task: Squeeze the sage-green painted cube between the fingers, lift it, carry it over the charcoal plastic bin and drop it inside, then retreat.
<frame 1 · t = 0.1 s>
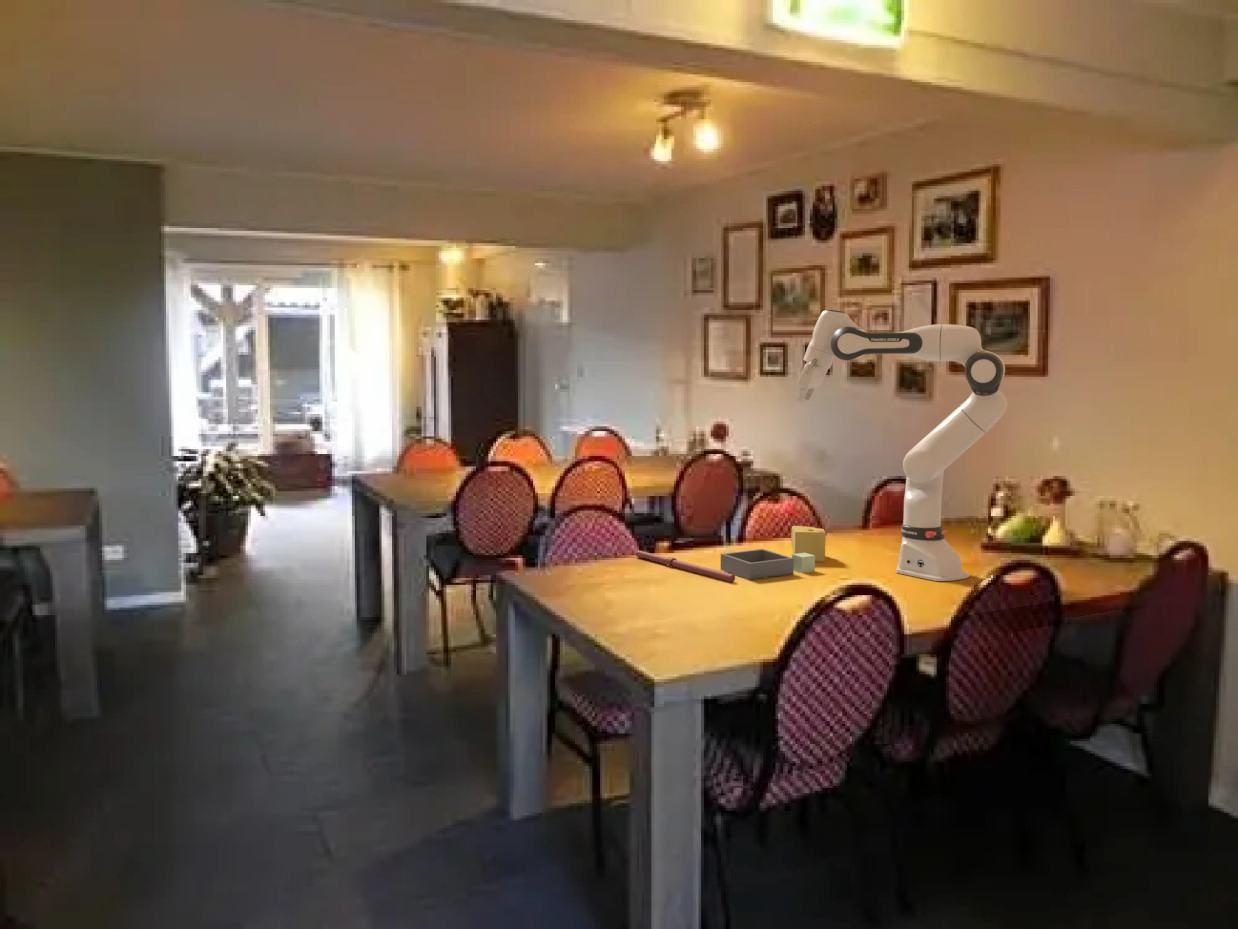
hand: (803, 400, 319), 52 cm above the table, tool tilted 20°, fingers open, 8 cm apart
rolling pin: (682, 571, 314), on the table
green cube: (803, 570, 312), on the table
bin: (756, 572, 310), on the table
cheese: (808, 559, 328), on the table
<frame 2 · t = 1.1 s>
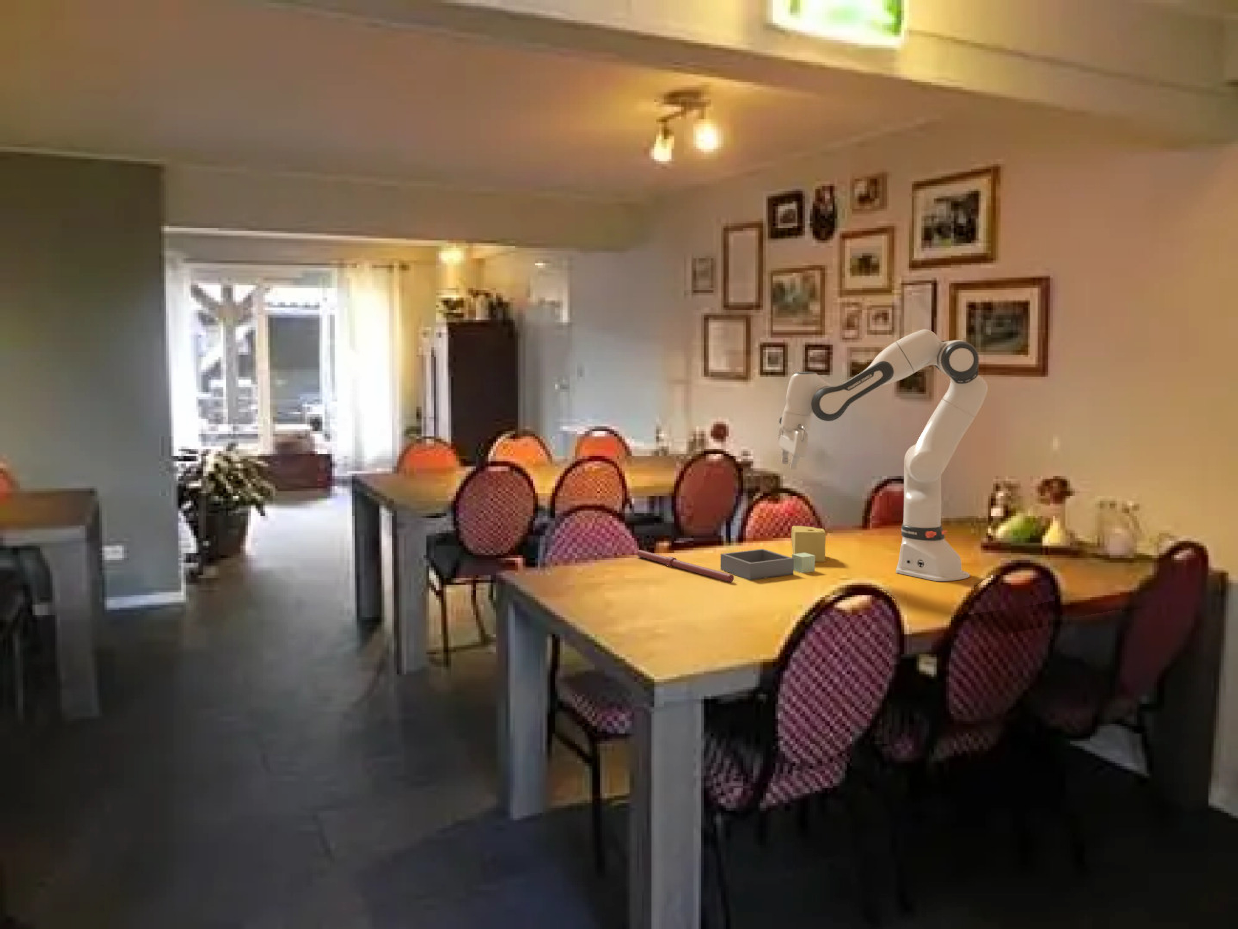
hand: (788, 466, 314), 32 cm above the table, tool pointing down, fingers open, 8 cm apart
nothing on the table moved.
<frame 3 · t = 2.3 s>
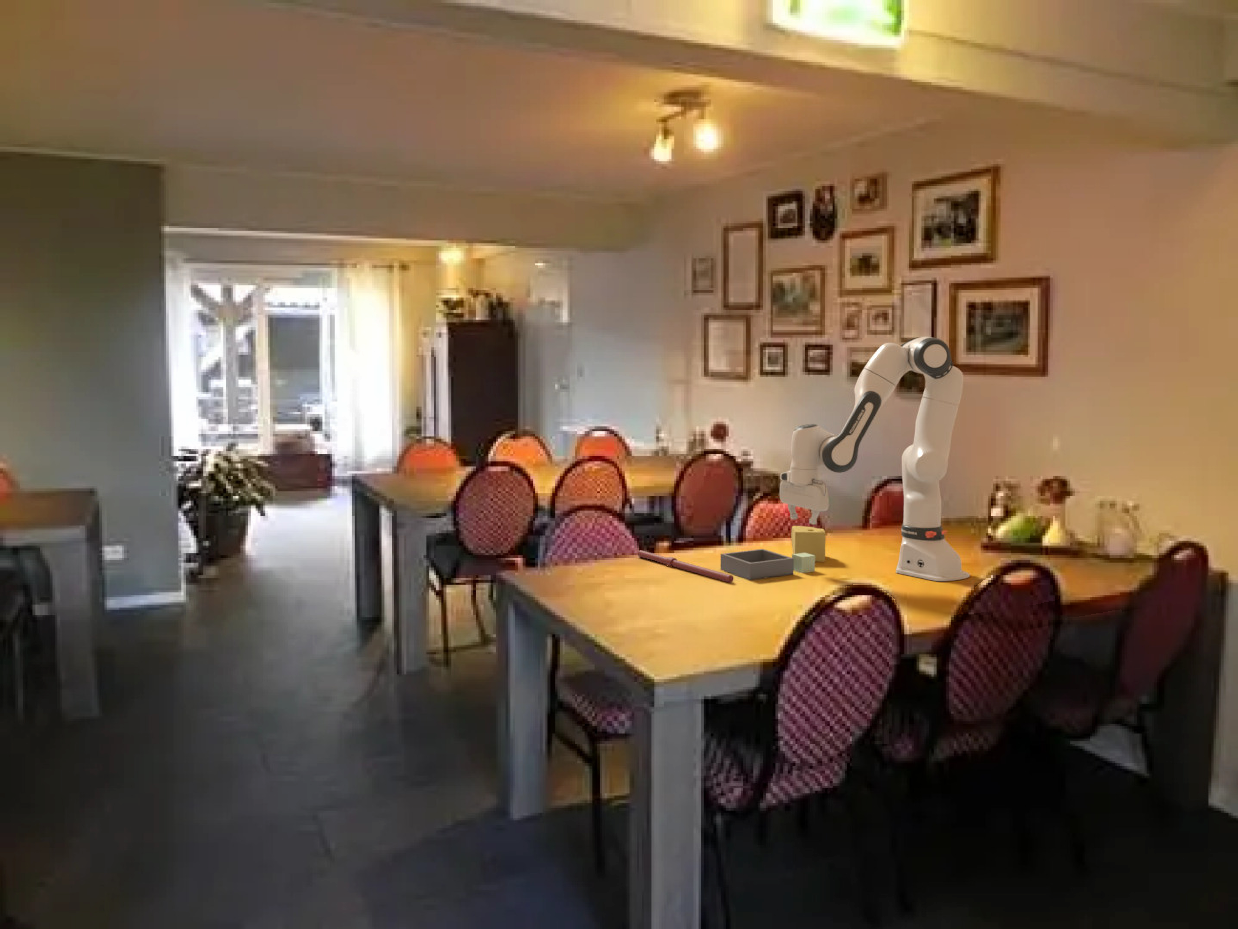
hand: (803, 521, 310), 15 cm above the table, tool pointing down, fingers open, 8 cm apart
nothing on the table moved.
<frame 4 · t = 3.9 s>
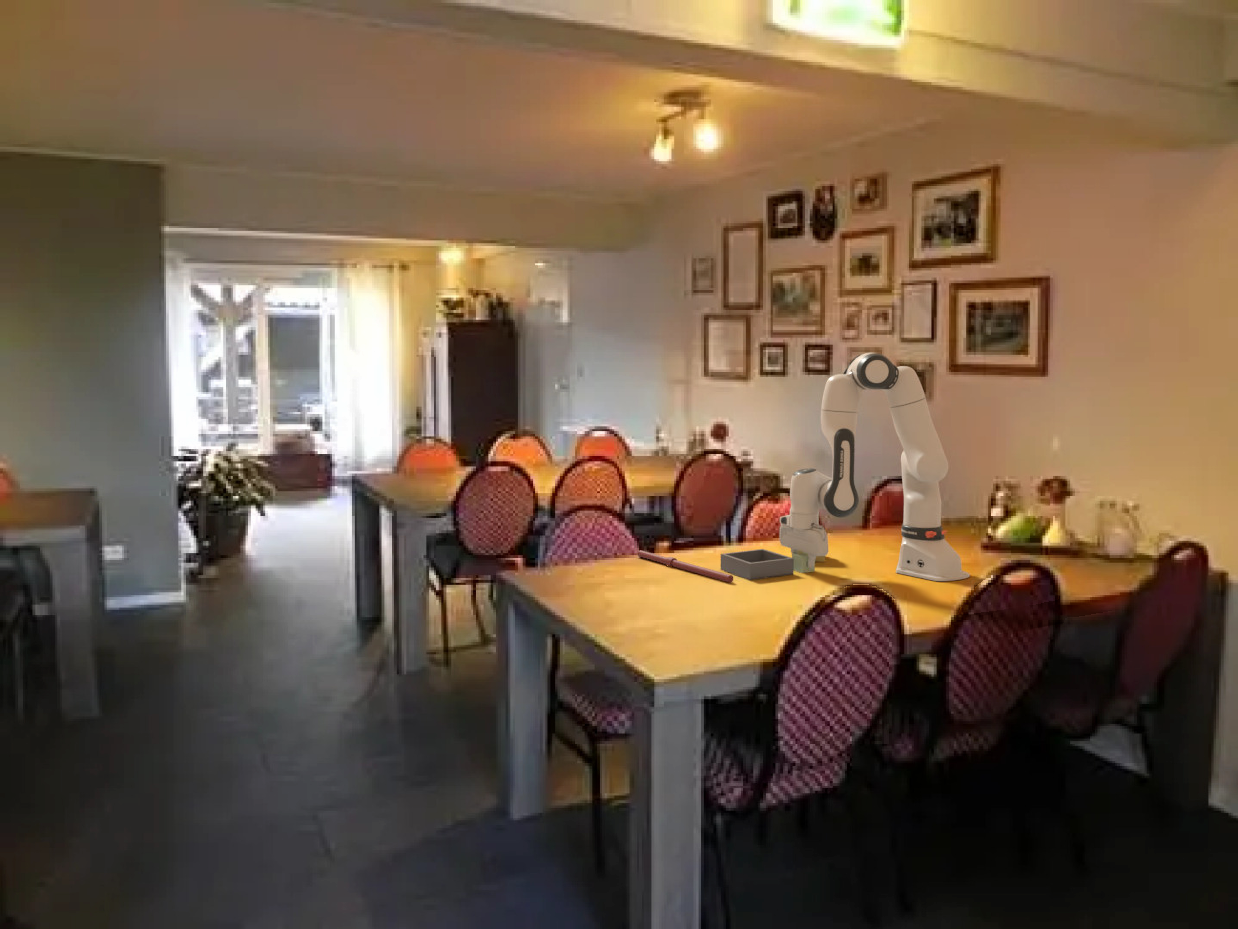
hand: (803, 565, 311), 2 cm above the table, tool pointing down, fingers closed on green cube, 5 cm apart
green cube: (803, 570, 312), on the table, touching gripper
everything else where it was.
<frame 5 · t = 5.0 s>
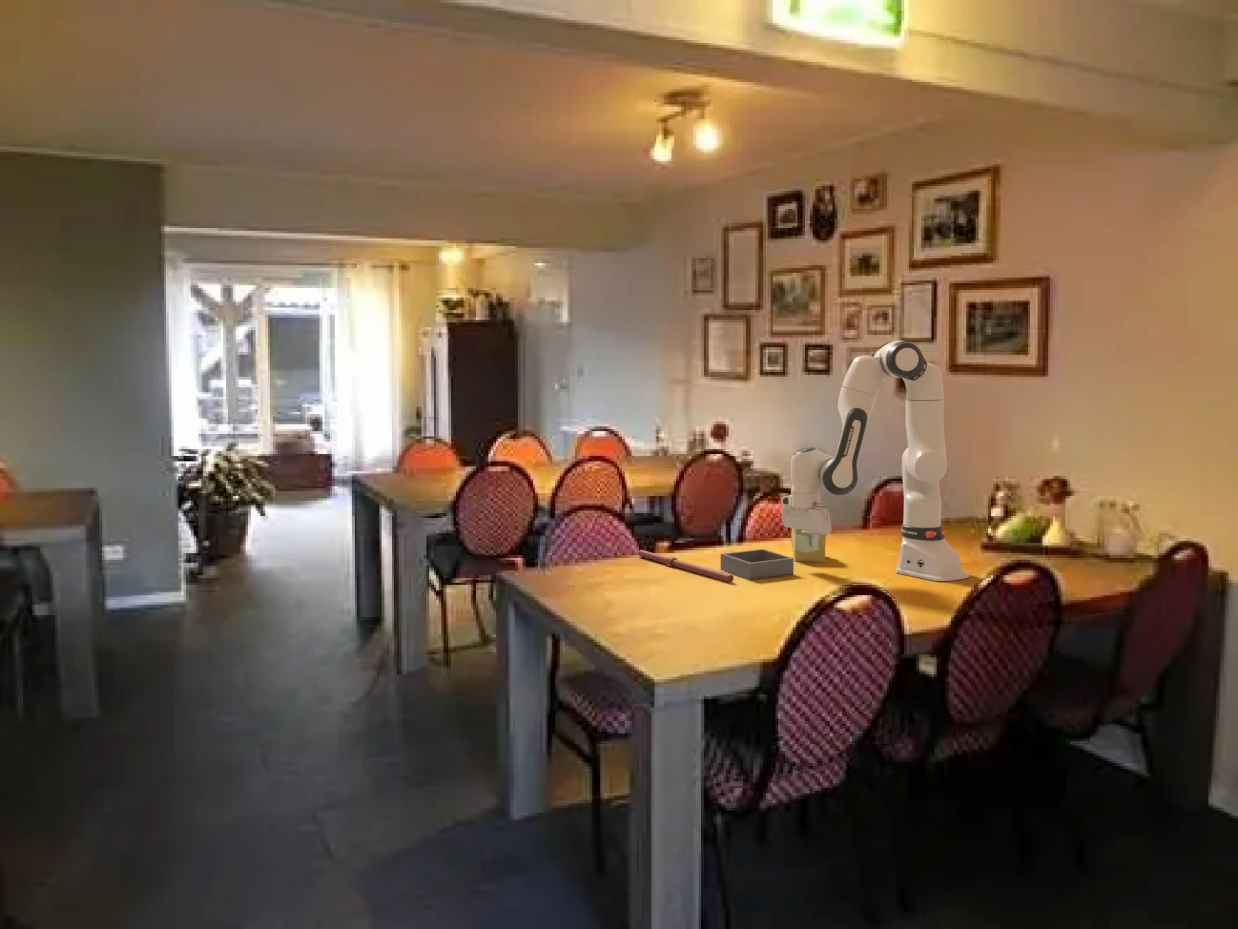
hand: (806, 544, 310), 8 cm above the table, tool pointing down, fingers closed on green cube, 5 cm apart
green cube: (807, 550, 311), point 6 cm above the table, touching gripper
everything else where it was.
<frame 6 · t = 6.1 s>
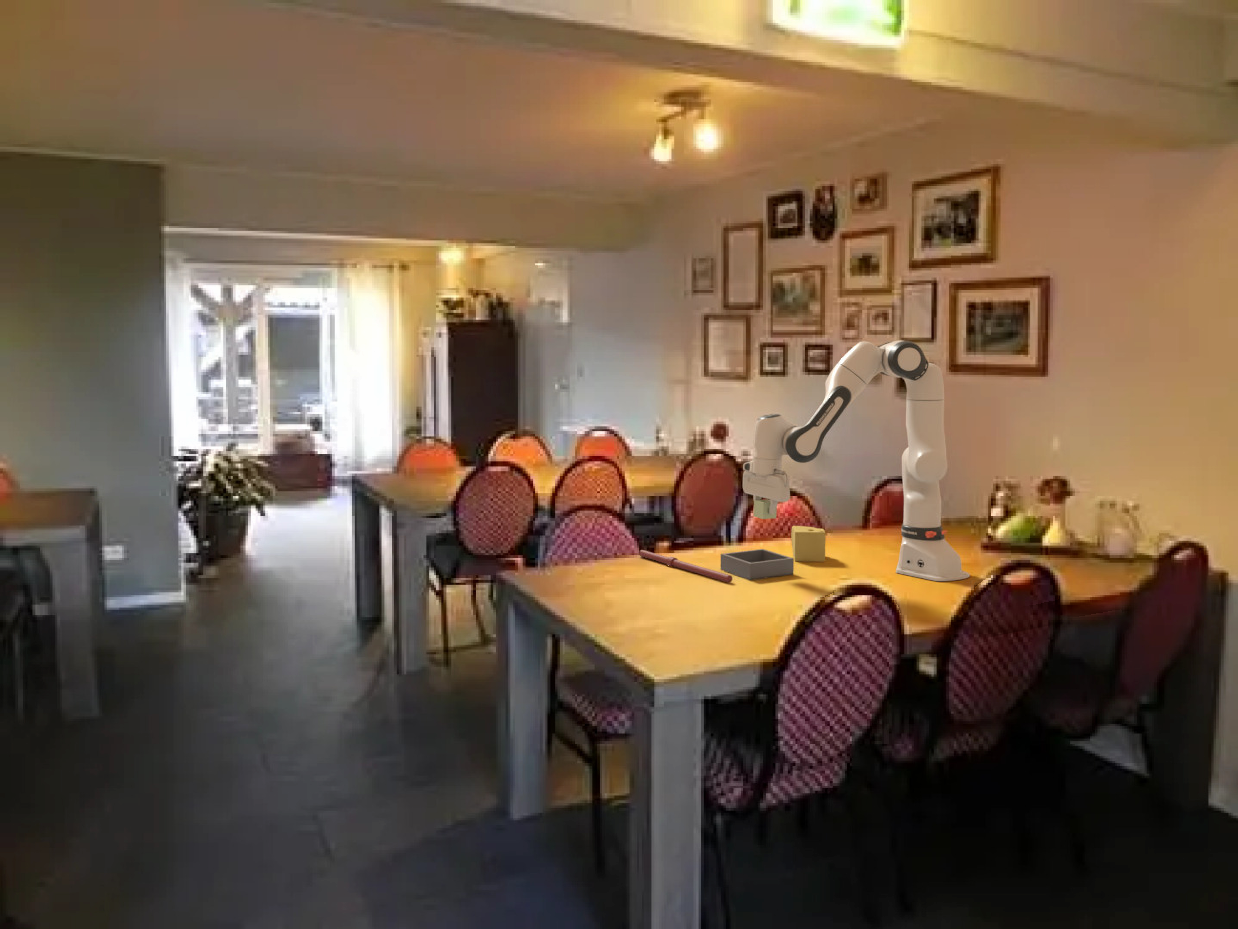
hand: (764, 512, 308), 19 cm above the table, tool pointing down, fingers closed on green cube, 5 cm apart
green cube: (764, 517, 308), point 17 cm above the table, touching gripper
everything else where it was.
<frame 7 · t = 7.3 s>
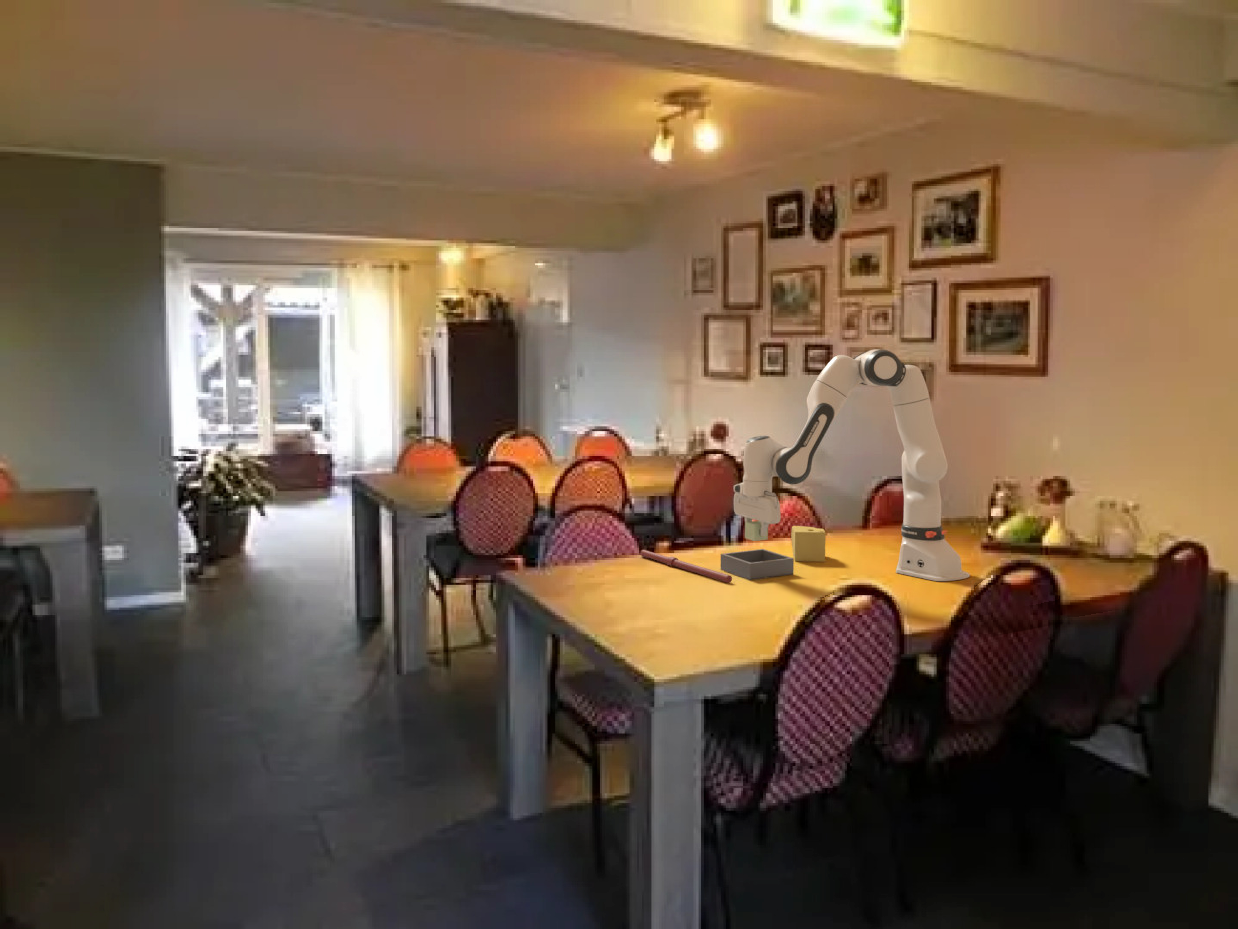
hand: (756, 533, 308), 12 cm above the table, tool pointing down, fingers closed on green cube, 5 cm apart
green cube: (756, 538, 308), point 10 cm above the table, touching gripper
everything else where it was.
when the fingers open (5 cm above the table, at t = 8.7 s): green cube drops 3 cm, resting on bin.
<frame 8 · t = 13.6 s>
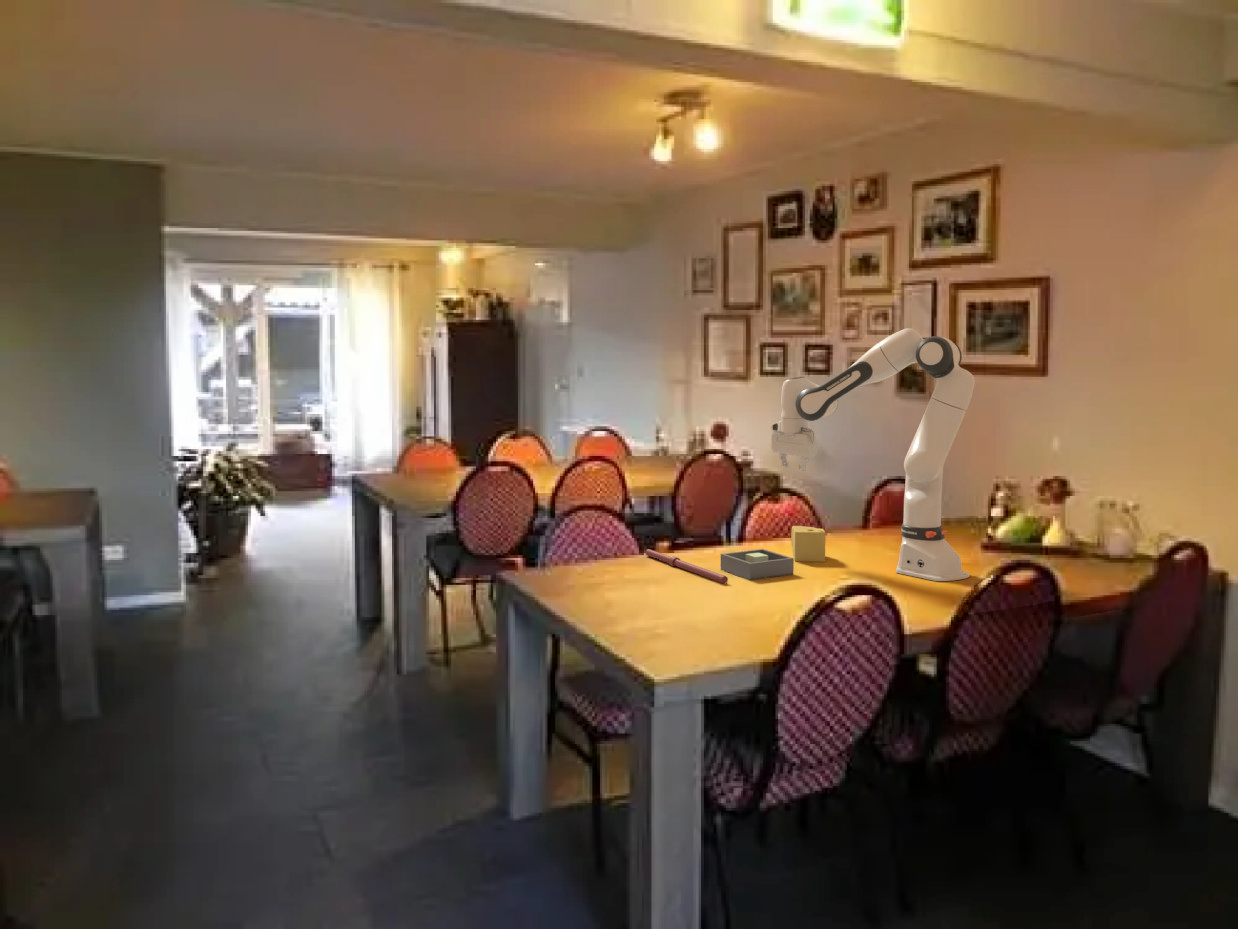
hand: (793, 468, 329), 29 cm above the table, tool pointing down, fingers open, 8 cm apart
green cube: (756, 570, 310), resting on bin
at the end: green cube inside the target area on the bin (0.0 cm from its centre), point 0.4 cm above the bin's base; the gripper is holding nothing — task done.
